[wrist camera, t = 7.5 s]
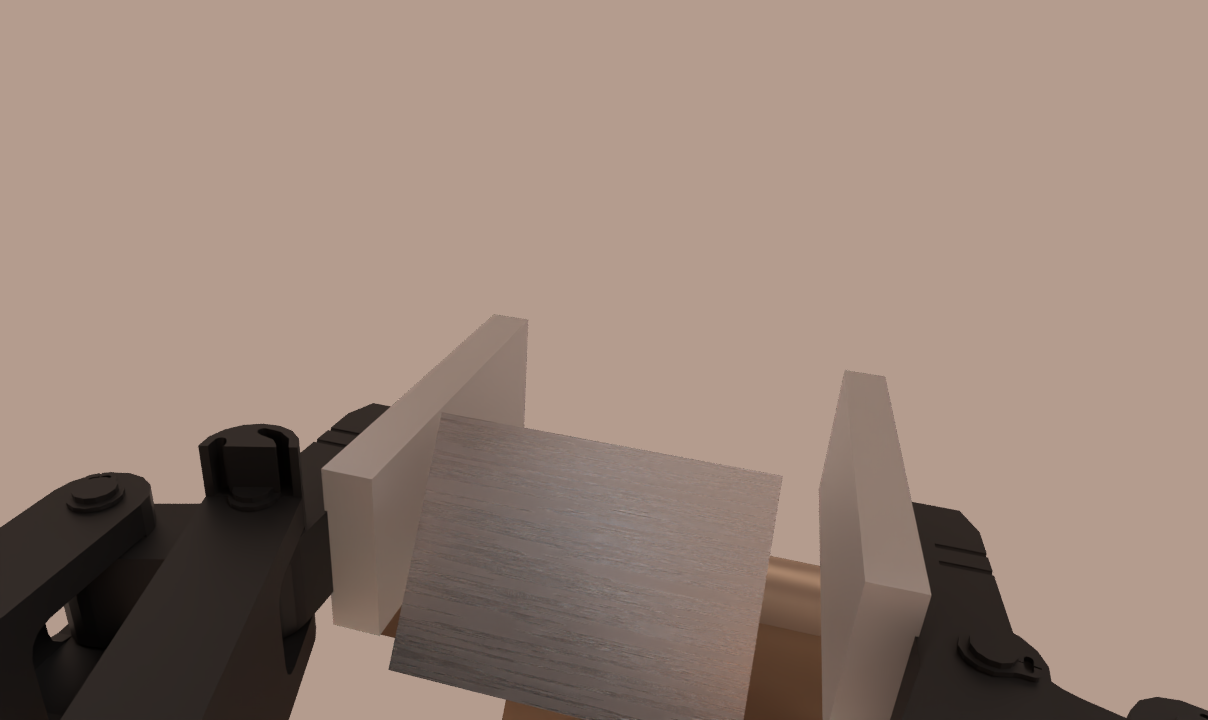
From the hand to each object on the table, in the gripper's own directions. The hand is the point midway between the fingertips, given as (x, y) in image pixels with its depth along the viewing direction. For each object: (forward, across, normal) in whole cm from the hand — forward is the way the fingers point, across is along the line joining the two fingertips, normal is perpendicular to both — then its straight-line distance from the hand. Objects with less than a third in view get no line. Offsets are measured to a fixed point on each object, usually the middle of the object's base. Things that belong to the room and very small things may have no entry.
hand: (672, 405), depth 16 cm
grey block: (+2, 0, -6) cm, 6 cm away
